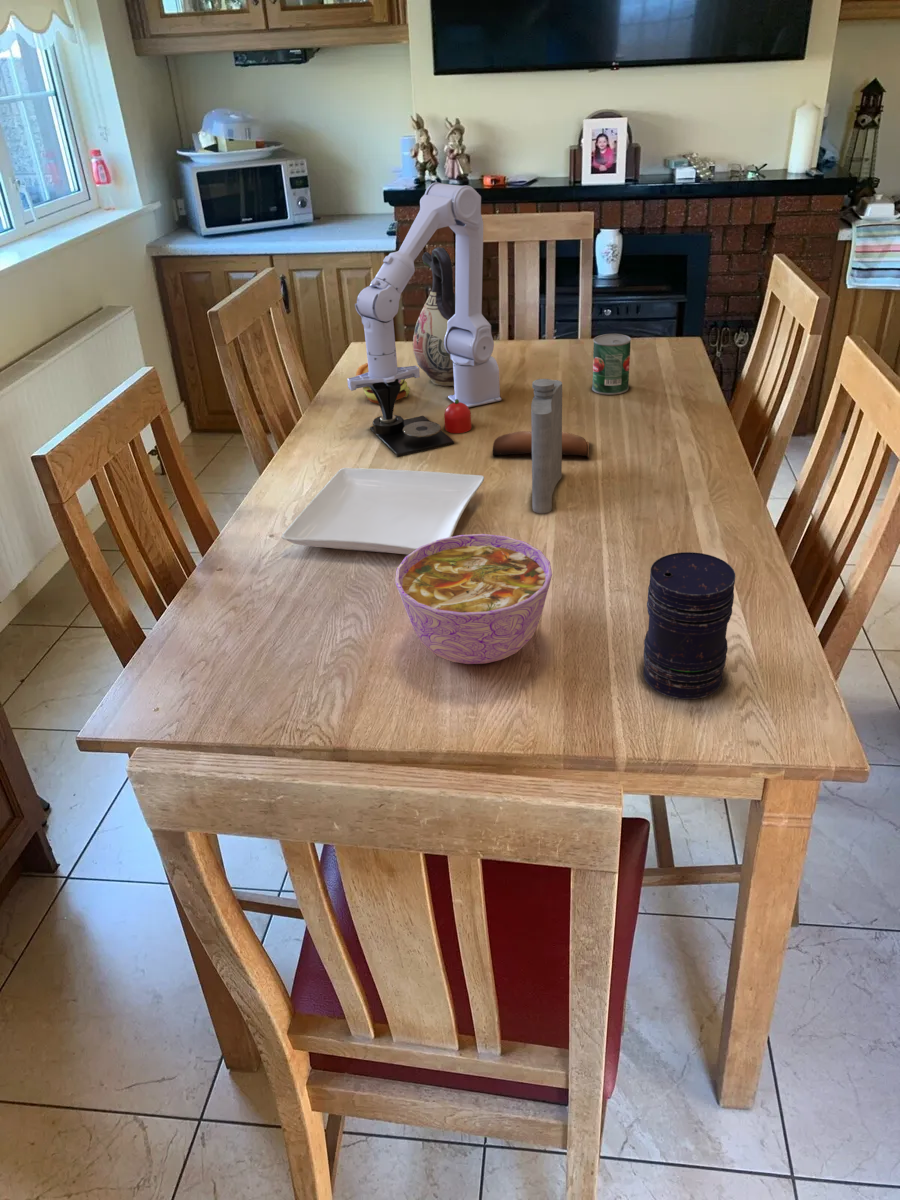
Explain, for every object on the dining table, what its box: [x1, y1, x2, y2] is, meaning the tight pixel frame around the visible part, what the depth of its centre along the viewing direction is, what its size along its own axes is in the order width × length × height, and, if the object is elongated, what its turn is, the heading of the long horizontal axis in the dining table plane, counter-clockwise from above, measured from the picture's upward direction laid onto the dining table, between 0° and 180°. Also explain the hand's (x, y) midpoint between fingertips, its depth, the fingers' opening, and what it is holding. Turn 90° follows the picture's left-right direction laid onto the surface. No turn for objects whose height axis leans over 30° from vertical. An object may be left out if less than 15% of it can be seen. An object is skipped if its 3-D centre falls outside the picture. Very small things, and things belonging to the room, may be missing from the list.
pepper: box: [443, 399, 472, 434], centre depth 186 cm, size 5×5×6 cm
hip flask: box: [530, 378, 563, 514], centre depth 155 cm, size 16×4×20 cm, turn 167°
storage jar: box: [642, 551, 736, 700], centre depth 111 cm, size 10×10×15 cm
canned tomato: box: [591, 333, 632, 396], centre depth 199 cm, size 8×8×11 cm
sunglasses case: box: [492, 430, 590, 459], centre depth 174 cm, size 18×7×7 cm
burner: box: [403, 420, 442, 437], centre depth 183 cm, size 8×8×1 cm
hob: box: [369, 414, 455, 457], centre depth 185 cm, size 12×16×3 cm
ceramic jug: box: [412, 246, 455, 387], centre depth 204 cm, size 17×15×30 cm
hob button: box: [380, 414, 396, 424], centre depth 187 cm, size 3×3×2 cm
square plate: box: [281, 467, 485, 555], centre depth 153 cm, size 27×27×4 cm
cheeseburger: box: [355, 362, 411, 405], centre depth 203 cm, size 10×11×10 cm
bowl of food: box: [394, 533, 553, 665], centre depth 120 cm, size 20×20×12 cm
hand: (387, 417), depth 186 cm, fingers closed, pressing on hob button
